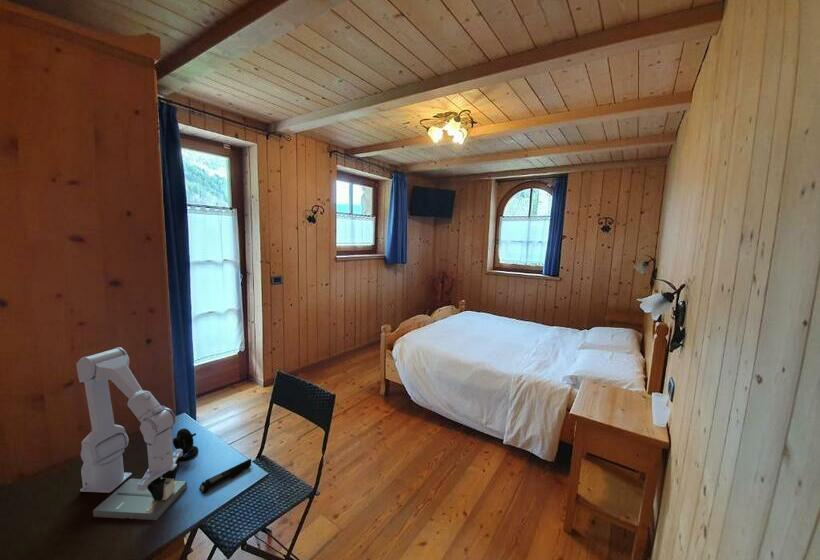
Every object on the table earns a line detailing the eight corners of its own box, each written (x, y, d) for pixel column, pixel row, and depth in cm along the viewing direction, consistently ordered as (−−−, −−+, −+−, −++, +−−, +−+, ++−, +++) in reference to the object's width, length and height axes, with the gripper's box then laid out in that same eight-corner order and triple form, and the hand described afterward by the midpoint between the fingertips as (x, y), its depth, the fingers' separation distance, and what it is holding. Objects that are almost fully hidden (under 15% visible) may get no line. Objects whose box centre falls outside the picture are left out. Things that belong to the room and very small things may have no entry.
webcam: (168, 457, 115) (166, 431, 114) (190, 445, 122) (189, 421, 120) (180, 465, 112) (179, 438, 110) (203, 452, 118) (201, 427, 117)
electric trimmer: (253, 469, 112) (253, 461, 111) (203, 496, 100) (202, 486, 99) (248, 464, 114) (248, 456, 114) (198, 489, 102) (198, 480, 102)
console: (93, 516, 91) (92, 510, 91) (131, 484, 103) (130, 478, 103) (156, 520, 91) (156, 513, 90) (186, 486, 102) (186, 480, 102)
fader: (152, 499, 95) (151, 486, 94) (161, 489, 98) (160, 477, 97) (166, 500, 94) (165, 487, 94) (175, 490, 98) (174, 478, 97)
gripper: (153, 470, 87) (157, 515, 89) (191, 436, 101) (193, 476, 103) (128, 469, 87) (132, 513, 89) (169, 435, 102) (172, 475, 103)
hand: (163, 493), depth 96 cm, fingers closed on fader, 3 cm apart
